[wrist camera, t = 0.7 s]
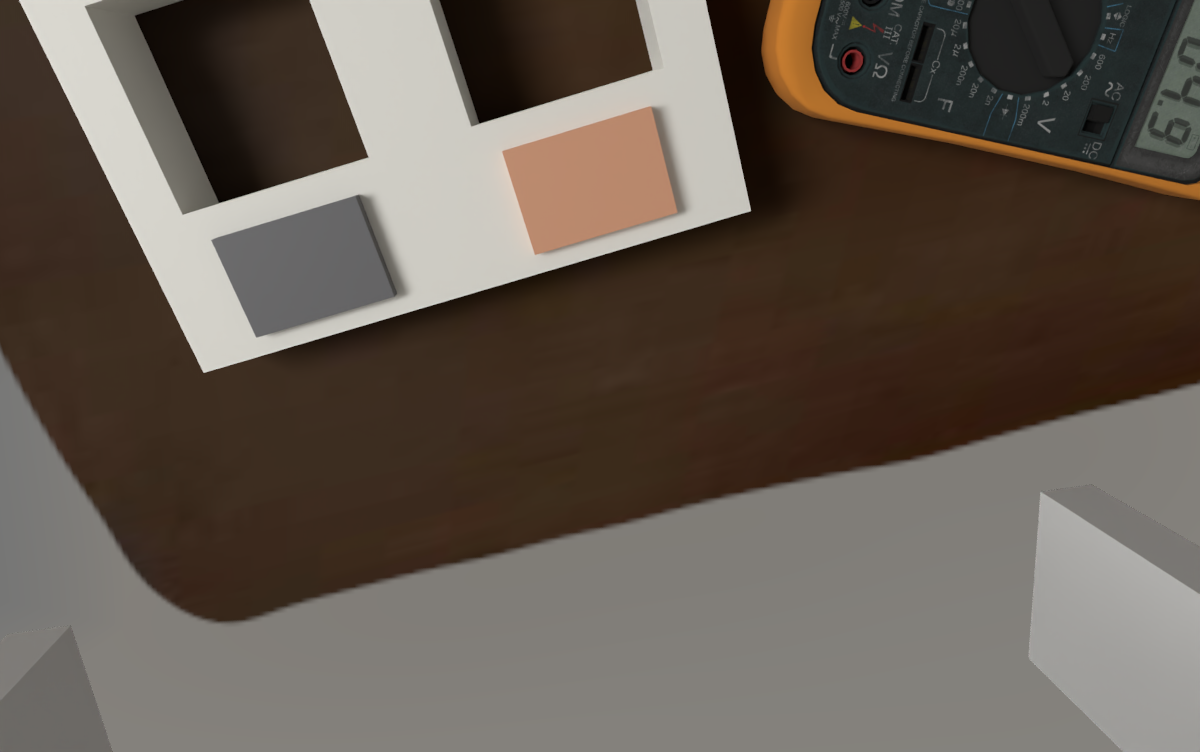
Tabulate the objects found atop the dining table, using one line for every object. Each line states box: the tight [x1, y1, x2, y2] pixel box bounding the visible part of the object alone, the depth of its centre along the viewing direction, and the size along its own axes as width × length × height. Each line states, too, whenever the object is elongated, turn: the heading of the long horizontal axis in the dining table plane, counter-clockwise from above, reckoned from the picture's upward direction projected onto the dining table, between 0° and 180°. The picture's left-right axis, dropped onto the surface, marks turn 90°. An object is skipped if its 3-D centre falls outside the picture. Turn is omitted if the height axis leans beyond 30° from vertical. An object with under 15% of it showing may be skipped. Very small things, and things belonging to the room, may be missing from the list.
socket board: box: [19, 0, 751, 373], centre depth 26 cm, size 20×14×4 cm
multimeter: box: [761, 0, 1200, 200], centre depth 27 cm, size 9×18×3 cm, turn 79°
